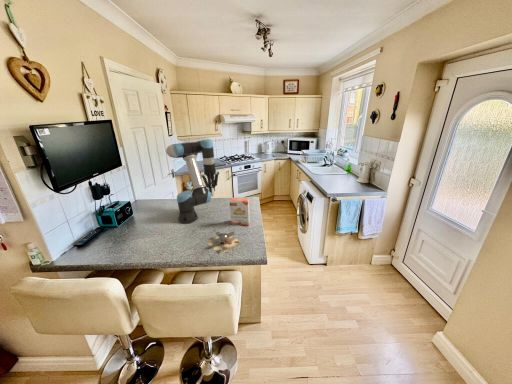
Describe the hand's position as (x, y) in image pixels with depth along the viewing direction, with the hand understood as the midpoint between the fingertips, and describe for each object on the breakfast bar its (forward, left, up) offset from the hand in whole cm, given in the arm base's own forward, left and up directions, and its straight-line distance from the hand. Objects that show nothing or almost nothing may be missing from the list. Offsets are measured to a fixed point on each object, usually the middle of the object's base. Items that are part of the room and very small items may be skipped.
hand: (212, 196), depth 141 cm
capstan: (+21, -7, -25) cm, 33 cm away
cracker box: (+8, +17, -27) cm, 33 cm away
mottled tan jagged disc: (+21, -7, -26) cm, 34 cm away
